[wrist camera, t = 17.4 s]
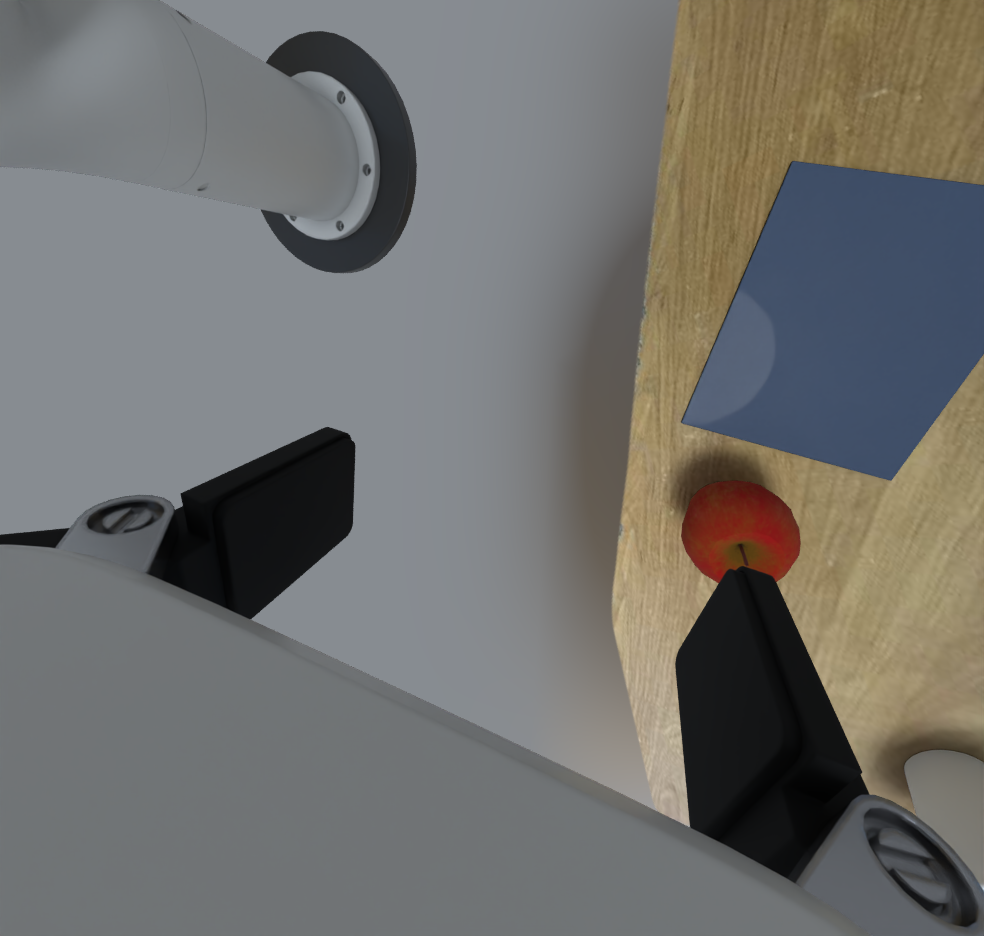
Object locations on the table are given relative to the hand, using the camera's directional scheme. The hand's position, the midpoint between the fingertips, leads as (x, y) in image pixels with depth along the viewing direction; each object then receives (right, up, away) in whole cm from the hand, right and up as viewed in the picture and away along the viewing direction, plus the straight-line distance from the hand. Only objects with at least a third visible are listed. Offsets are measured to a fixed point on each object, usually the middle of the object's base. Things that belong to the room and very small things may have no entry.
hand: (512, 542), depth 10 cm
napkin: (+27, +12, +22) cm, 36 cm away
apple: (+22, -1, +29) cm, 37 cm away
